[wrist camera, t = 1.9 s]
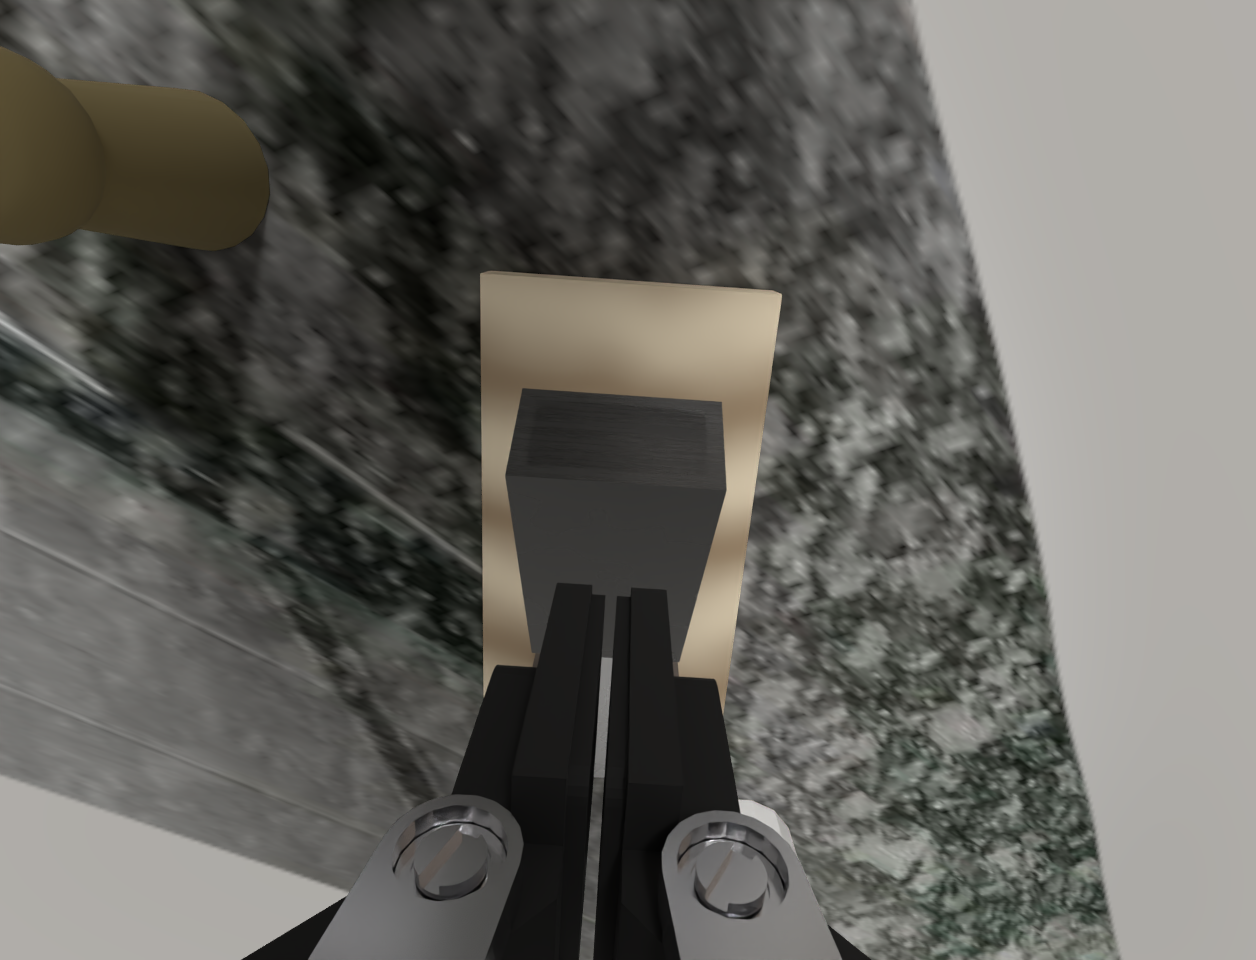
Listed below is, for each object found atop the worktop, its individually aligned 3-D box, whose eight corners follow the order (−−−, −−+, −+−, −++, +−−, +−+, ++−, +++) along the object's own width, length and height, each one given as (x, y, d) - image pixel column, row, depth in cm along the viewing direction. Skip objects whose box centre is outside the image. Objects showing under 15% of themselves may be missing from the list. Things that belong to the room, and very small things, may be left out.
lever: (536, 316, 13) (504, 475, 11) (718, 329, 13) (726, 490, 11) (561, 680, 28) (551, 781, 26) (647, 685, 28) (644, 787, 26)
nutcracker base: (490, 270, 29) (402, 294, 18) (772, 290, 29) (853, 326, 18) (491, 683, 36) (429, 878, 25) (717, 697, 36) (751, 897, 25)
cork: (284, 247, 29) (84, 257, 18) (143, 254, 29) (-134, 267, 18) (250, 83, 26) (3, -10, 16) (98, 92, 27) (-242, 4, 16)
